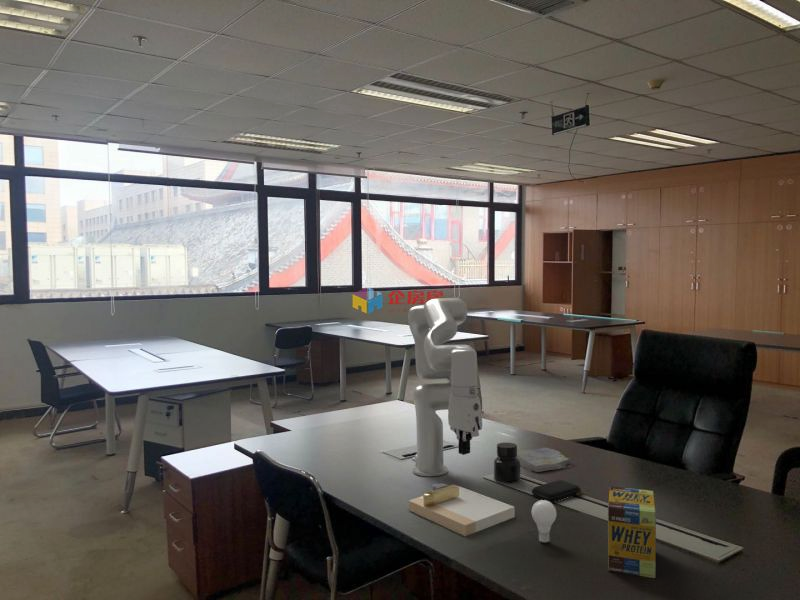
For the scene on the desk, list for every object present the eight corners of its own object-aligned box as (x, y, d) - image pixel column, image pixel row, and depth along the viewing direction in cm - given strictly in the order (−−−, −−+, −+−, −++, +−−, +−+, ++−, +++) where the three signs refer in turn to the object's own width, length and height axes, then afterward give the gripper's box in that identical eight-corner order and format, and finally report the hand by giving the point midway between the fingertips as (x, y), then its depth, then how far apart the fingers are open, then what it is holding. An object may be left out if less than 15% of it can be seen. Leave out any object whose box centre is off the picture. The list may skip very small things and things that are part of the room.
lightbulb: (528, 537, 159) (528, 496, 159) (551, 536, 160) (551, 495, 159) (536, 548, 153) (535, 505, 152) (560, 547, 153) (559, 504, 153)
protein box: (607, 571, 140) (607, 506, 140) (609, 544, 155) (609, 485, 154) (656, 579, 136) (656, 512, 136) (653, 550, 151) (653, 489, 150)
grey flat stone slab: (579, 468, 220) (548, 453, 236) (579, 456, 220) (548, 442, 235) (535, 478, 212) (506, 462, 227) (535, 466, 211) (506, 450, 227)
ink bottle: (524, 477, 207) (524, 443, 207) (518, 485, 199) (517, 450, 199) (496, 474, 211) (496, 440, 211) (489, 481, 203) (489, 447, 203)
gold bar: (428, 506, 173) (428, 496, 173) (421, 503, 175) (421, 493, 175) (460, 496, 181) (459, 486, 180) (452, 493, 183) (452, 484, 183)
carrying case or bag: (554, 506, 182) (586, 496, 190) (554, 496, 182) (586, 486, 190) (528, 496, 191) (560, 486, 199) (528, 486, 190) (560, 477, 199)
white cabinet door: (408, 510, 179) (408, 488, 179) (456, 494, 192) (456, 474, 192) (465, 536, 161) (464, 512, 160) (514, 517, 173) (514, 494, 173)
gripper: (491, 393, 170) (492, 456, 171) (455, 385, 182) (455, 445, 182) (473, 396, 165) (473, 462, 166) (437, 388, 177) (437, 450, 178)
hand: (464, 453), depth 174 cm, fingers closed
